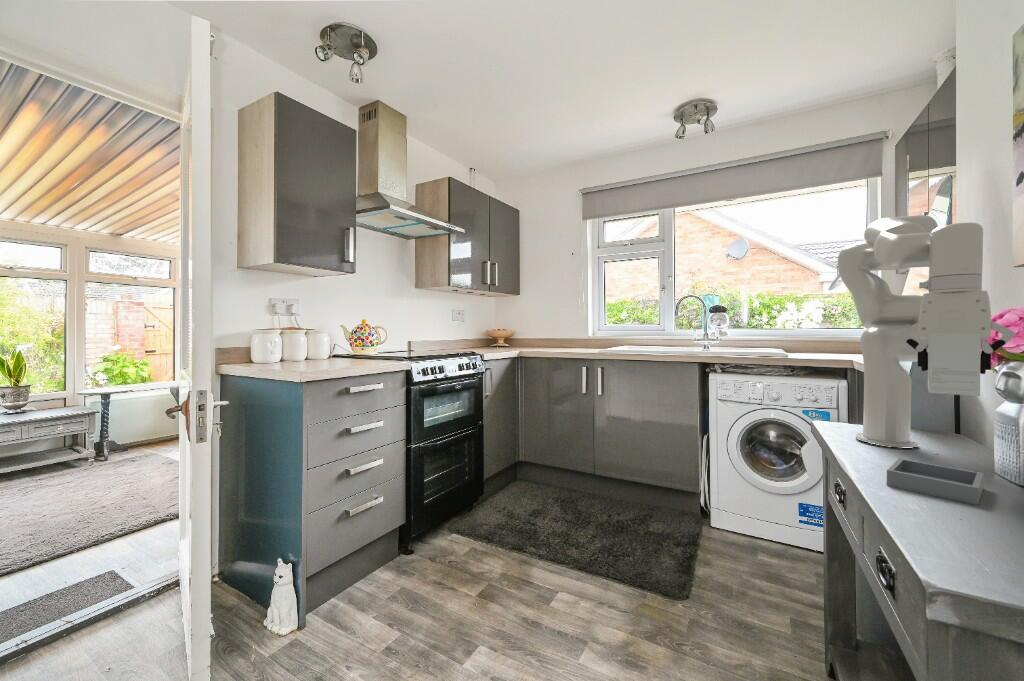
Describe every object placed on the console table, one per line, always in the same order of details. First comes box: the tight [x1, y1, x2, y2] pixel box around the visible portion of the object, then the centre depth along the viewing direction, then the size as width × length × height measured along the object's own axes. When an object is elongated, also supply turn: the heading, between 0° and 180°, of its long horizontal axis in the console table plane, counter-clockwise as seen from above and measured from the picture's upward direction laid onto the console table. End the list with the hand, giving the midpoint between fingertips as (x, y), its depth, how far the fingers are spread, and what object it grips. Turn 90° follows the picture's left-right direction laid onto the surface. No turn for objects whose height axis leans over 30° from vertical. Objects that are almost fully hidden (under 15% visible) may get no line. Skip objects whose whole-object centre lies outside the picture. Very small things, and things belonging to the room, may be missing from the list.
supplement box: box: [927, 332, 982, 397], centre depth 86 cm, size 7×7×13 cm
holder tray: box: [886, 457, 984, 506], centre depth 82 cm, size 12×12×3 cm
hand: (952, 371), depth 86 cm, fingers closed on supplement box, 7 cm apart
